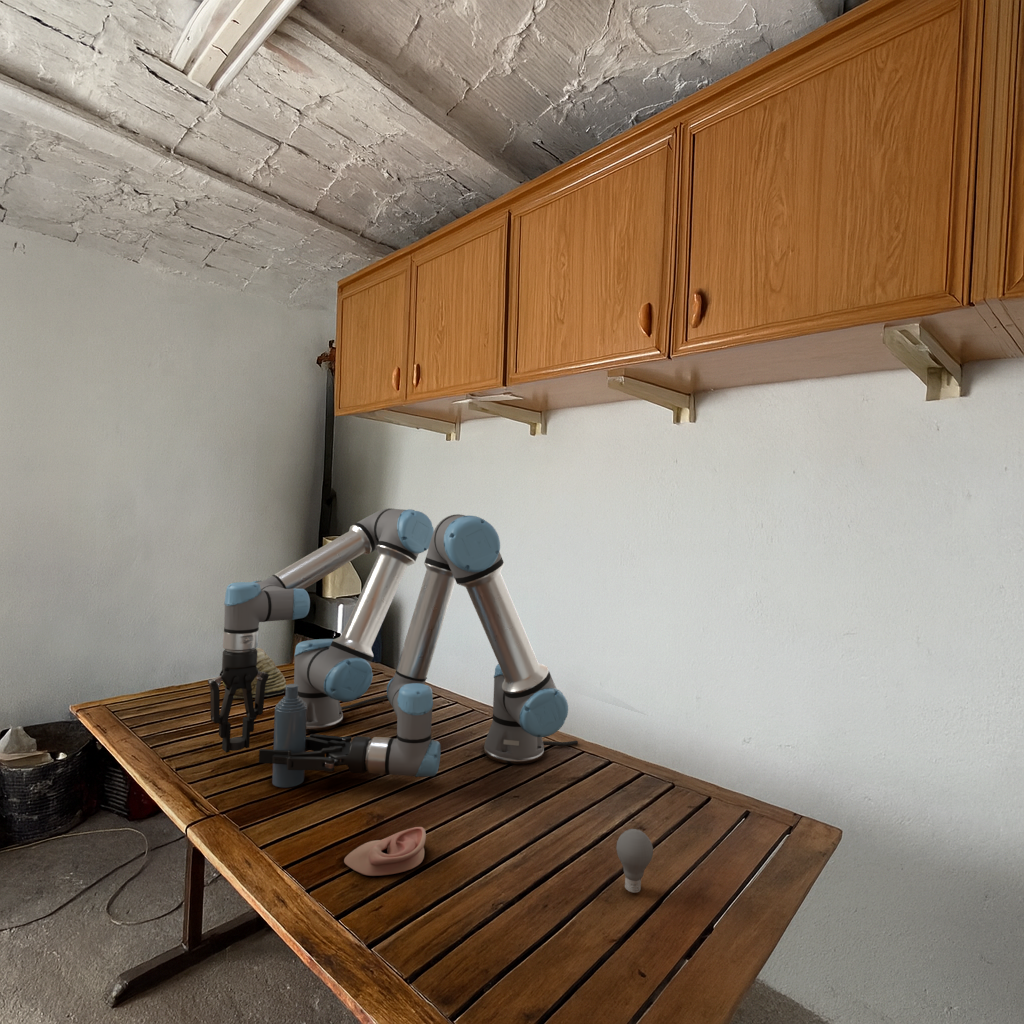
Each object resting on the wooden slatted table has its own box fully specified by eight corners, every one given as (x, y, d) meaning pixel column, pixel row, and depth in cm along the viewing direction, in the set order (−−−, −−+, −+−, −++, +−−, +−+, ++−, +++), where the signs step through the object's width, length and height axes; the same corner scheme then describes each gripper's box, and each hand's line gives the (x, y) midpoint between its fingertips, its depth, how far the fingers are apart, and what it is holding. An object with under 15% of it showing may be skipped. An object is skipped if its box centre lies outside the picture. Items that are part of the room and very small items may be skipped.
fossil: (218, 695, 195) (220, 647, 195) (278, 685, 208) (279, 640, 207) (228, 703, 189) (230, 653, 188) (289, 692, 201) (290, 645, 201)
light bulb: (610, 879, 108) (613, 822, 108) (644, 879, 109) (647, 822, 109) (619, 902, 102) (622, 840, 102) (655, 901, 103) (658, 840, 103)
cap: (228, 744, 150) (228, 737, 150) (245, 744, 151) (246, 736, 151) (225, 751, 146) (225, 743, 146) (243, 750, 147) (243, 742, 147)
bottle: (290, 771, 145) (293, 679, 145) (310, 779, 142) (314, 684, 141) (265, 782, 139) (268, 686, 139) (286, 790, 136) (289, 692, 136)
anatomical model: (336, 847, 108) (365, 815, 119) (335, 870, 108) (364, 836, 119) (410, 859, 105) (432, 825, 116) (409, 883, 105) (431, 846, 116)
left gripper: (207, 656, 140) (202, 762, 140) (282, 647, 151) (277, 745, 152) (196, 649, 145) (192, 751, 146) (269, 641, 157) (265, 735, 157)
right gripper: (356, 792, 130) (246, 785, 131) (379, 754, 150) (284, 748, 151) (357, 756, 130) (247, 749, 131) (381, 722, 150) (285, 717, 150)
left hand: (235, 748), depth 149 cm, fingers closed on cap, 4 cm apart
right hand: (267, 749), depth 141 cm, fingers closed on bottle, 7 cm apart
